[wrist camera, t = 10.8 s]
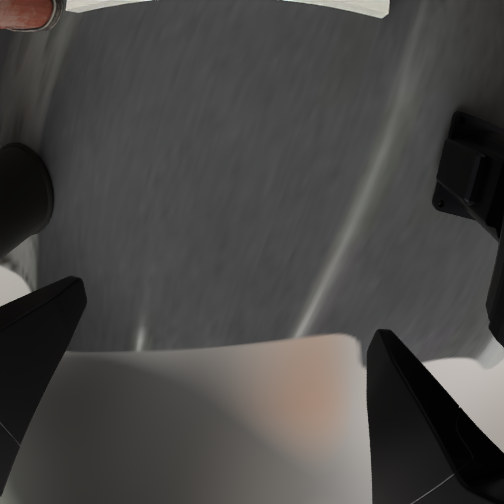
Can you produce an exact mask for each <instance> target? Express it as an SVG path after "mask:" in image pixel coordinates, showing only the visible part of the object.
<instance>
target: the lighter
mask: <svg viewBox="0 0 504 504" xmlns="http://www.w3.org/2000/svg"><path fill="white" fill-rule="evenodd" d="M62 9H63V4H62V1H61V0H0V29H8V30H12V31H25V32H36V31H46V30H49V29H51V28H52V27H54V26H55V24H56V23H57V22H58V20H59V18H60V16H61V13H62Z"/></svg>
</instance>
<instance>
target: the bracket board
mask: <svg viewBox="0 0 504 504" xmlns="http://www.w3.org/2000/svg"><path fill="white" fill-rule="evenodd" d="M142 1H150V0H67V5H66V11H71V12H77V13H80V12H84V11H89V10H94V9H99V8H104V7H109V6H115V5H121V4H127V3H134V2H142ZM285 1H294V2H302V3H309V4H315V5H321V6H327V7H333V8H338V9H343V10H348V11H352V12H357V13H361V14H365V15H369V16H373V17H377V18H381V19H382V18H383V17H385V16H386V15H387V14H389V3H390V0H285Z"/></svg>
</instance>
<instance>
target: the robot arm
mask: <svg viewBox="0 0 504 504" xmlns="http://www.w3.org/2000/svg"><path fill="white" fill-rule="evenodd" d="M460 116H461V117H462V122H461V123H459V120H458V119H459V117H460ZM436 178H437V180H438V182H437V186H436V189H435V193H434V196H433V200H432V204H433V206H434V208H435V209H436V210H438V211H441V212H445V213H449V214H453V215H457V216H461V217H465V218H469V219H473V220H476V221H477V222H478V223H479V224H480V225H481V226H482V227H484V228H485V229H486V230H487V231H488V232H489V233H490V234H491V235H492V236H493V237H494V238H495V239H496V240H497V241H498V242H499V246H498V251H497V256H496V261H495V266H494V270H493V275H492V279H491V283H490V287H489V291H488V296H487V301H486V308H487V313H488V318H489V320H490V323H489V326H488V327H489V330H490V331H491V333H492V334H493V336H494V337H495V339H496V340H497V341H498V342H499V343H500V344H501V345H502V346H503V347H504V129H502V128H499V127H497V126H495V125H493V124H490V123H488V122H486V121H483V120H481V119H479V118H476V117H474V116H471V115H469V114H466V113H463V112H459V111H457V112H455V113H454V114H453V117H452V122H451V127H450V132H449V136H448V139H447V140H446V141H445V144H444V148H443V153H442V157H441V161H440V165H439V169H438V173H437V177H436ZM440 200H442V203H441V204H440V205H438V202H439V201H440ZM86 304H87V297H86V293H85V288H84V283H83V280H82V279H81V278H79V277H75V276H69V277H66V278H64V279H62V280H59V281H57V282H55V283H52V284H50V285H48V286H45V287H43V288H41V289H38V290H36V291H34V292H32V293H29V294H27V295H25V296H23V297H21V298H18V299H16V300H14V301H12V302H9V303H7V304H5V305H3V306H1V307H0V496H1V495H2V493H3V491H4V488H5V485H6V482H7V479H8V477H9V474H10V471H11V469H12V466H13V463H14V461H15V458H16V455H17V453H18V451H19V448H20V445H21V443H22V441H23V438H24V436H25V434H26V431H27V429H28V427H29V425H30V422H31V420H32V418H33V416H34V413H35V411H36V409H37V407H38V405H39V403H40V401H41V398H42V396H43V394H44V392H45V390H46V388H47V386H48V384H49V382H50V380H51V378H52V376H53V374H54V372H55V370H56V368H57V366H58V365H59V363H60V361H61V359H62V357H63V355H64V353H65V351H66V350H67V348H68V346H69V344H70V341H71V339H72V337H73V335H74V332H75V330H76V328H77V325H78V323H79V321H80V318H81V316H82V314H83V312H84V310H85V307H86ZM367 412H368V423H369V437H370V449H371V450H370V452H371V470H372V502H373V504H504V453H503V452H502V451H501V450H500V449H499V448H498V447H497V446H496V445H495V444H494V443H493V442H492V441H491V440H490V439H489V438H488V437H487V436H486V435H485V434H484V433H483V432H482V431H481V430H480V429H479V428H478V427H477V426H476V425H475V423H474V422H473V421H472V420H471V419H470V418H469V417H468V415H467V414H466V413H465V412H464V411H463V410H462V408H459V405H458V404H457V403H456V402H455V401H454V399H453V398H452V397H451V396H450V395H449V394H448V392H447V391H446V390H445V389H444V388H443V387H442V386H441V384H440V383H439V382H438V381H437V380H436V379H435V378H434V377H433V375H432V374H431V373H430V372H429V371H428V370H427V369H426V368H425V366H423V364H422V363H421V362H420V361H419V360H418V359H417V358H416V357H415V355H414V354H413V353H412V352H411V351H410V350H409V349H408V348H407V347H406V346H405V345H404V343H403V342H402V341H401V340H400V339H399V338H398V337H397V336H396V335H395V334H394V333H393V332H392V331H391V330H387V329H378V330H377V331H376V332H375V334H374V337H373V339H372V341H371V343H370V345H369V348H368V350H367Z"/></svg>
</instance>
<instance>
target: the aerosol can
mask: <svg viewBox="0 0 504 504" xmlns="http://www.w3.org/2000/svg"><path fill="white" fill-rule="evenodd" d="M52 209H53V192H52V187H51V182H50V179H49V176H48V173H47V171H46V169H45V167H44V165H43V163H42V162H41V160H40V159H39V157H38V156H37V155H36V154H35V153H34V152H33V150H31V149H30V148H28V147H27V146H25V145H23V144H20V143H11V144H7V145H6V146H4V147H2V148H1V149H0V260H1V259H2V258H3V257H4V256H5V255H7V254H8V253H9V252H10V251H12V250H13V249H14V248H15V247H17V246H18V245H19V244H20V243H22V242H23V241H24V240H25V239H27V238H28V237H29V236H31V235H34V234H38V233H39V232H41V231H42V230H43V229H44V228H45V227H46V226H47V224H48V222H49V220H50V218H51V214H52Z"/></svg>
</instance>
